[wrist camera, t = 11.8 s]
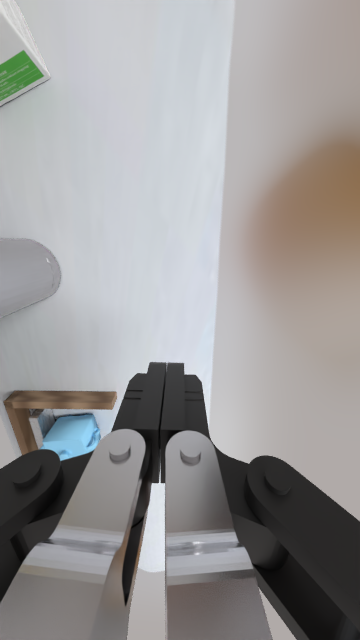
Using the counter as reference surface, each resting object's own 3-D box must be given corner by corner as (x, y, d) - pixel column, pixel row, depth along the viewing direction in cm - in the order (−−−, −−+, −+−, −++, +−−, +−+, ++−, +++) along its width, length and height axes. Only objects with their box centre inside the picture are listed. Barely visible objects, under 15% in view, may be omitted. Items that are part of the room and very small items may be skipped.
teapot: (54, 436, 46) (31, 472, 39) (45, 415, 44) (19, 448, 37) (109, 432, 45) (96, 468, 38) (102, 410, 43) (87, 443, 36)
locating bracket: (36, 456, 48) (27, 469, 45) (15, 390, 41) (3, 401, 38) (123, 457, 48) (120, 470, 45) (116, 391, 41) (111, 402, 38)
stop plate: (55, 449, 47) (44, 468, 43) (42, 402, 42) (28, 418, 38) (62, 449, 46) (51, 468, 43) (49, 402, 42) (37, 418, 38)
